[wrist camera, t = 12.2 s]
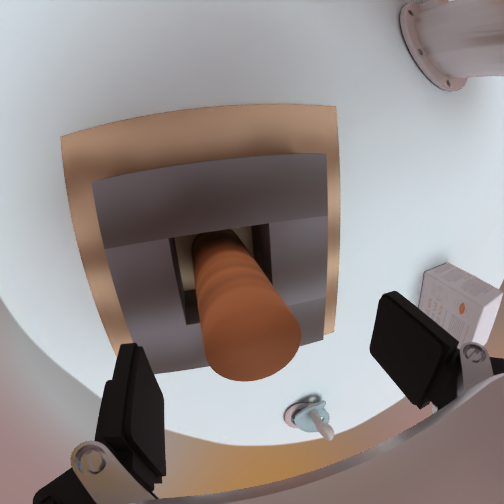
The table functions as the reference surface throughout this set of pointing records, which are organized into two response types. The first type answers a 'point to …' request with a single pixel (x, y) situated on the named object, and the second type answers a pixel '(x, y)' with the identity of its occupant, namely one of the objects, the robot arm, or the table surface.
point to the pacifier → (310, 418)
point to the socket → (204, 216)
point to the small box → (460, 303)
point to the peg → (240, 310)
